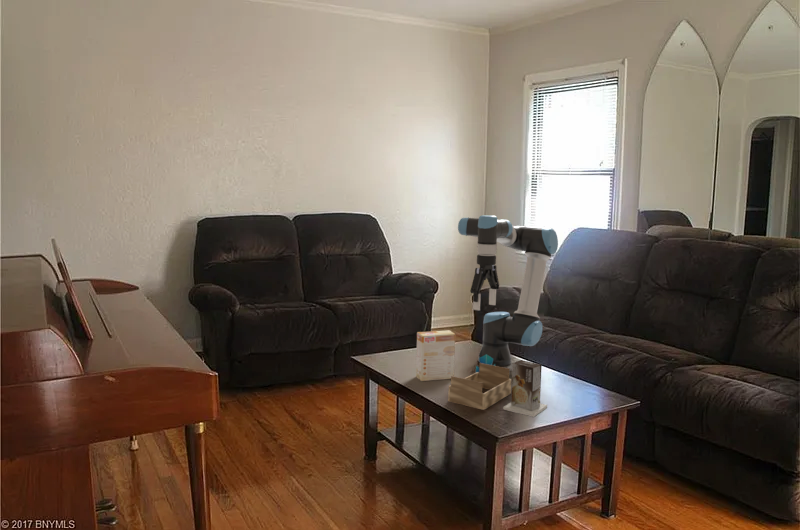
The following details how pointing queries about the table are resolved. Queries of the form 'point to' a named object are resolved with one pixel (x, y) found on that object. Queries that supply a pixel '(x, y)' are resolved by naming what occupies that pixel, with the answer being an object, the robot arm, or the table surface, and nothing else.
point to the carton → (471, 387)
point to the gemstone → (485, 361)
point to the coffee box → (526, 385)
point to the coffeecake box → (435, 355)
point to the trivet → (525, 411)
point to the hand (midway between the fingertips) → (484, 307)
